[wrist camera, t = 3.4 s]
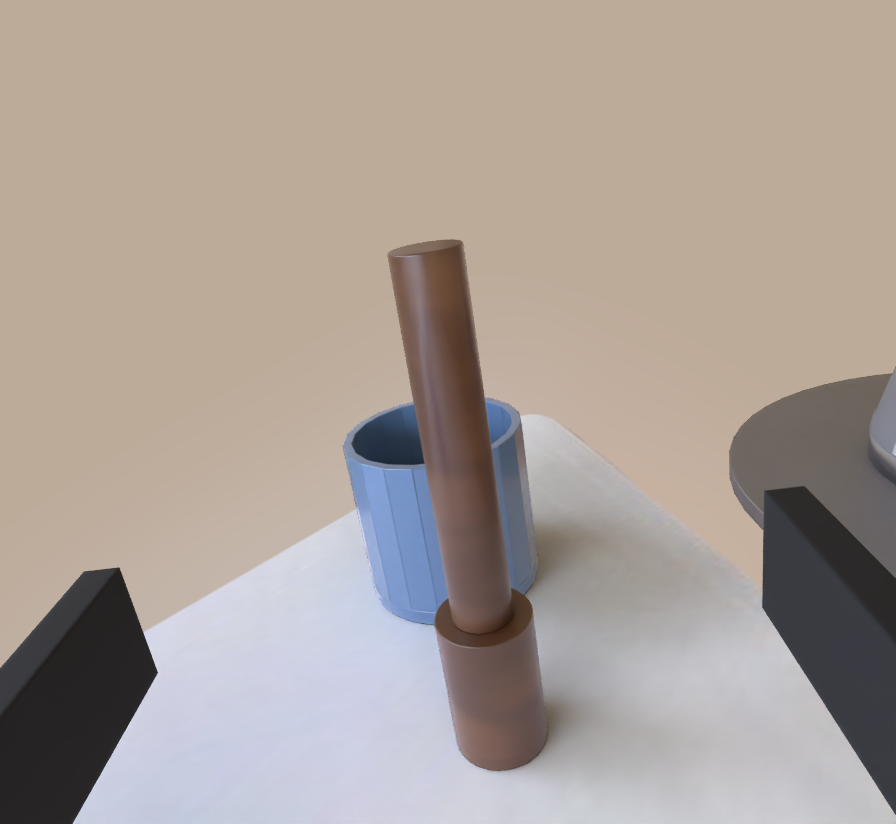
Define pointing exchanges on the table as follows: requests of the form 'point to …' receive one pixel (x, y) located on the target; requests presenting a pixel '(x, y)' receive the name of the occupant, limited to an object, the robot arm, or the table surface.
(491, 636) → the muddler
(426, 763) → the table surface
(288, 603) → the table surface
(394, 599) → the blue faceted pencil cup
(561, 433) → the table surface
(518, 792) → the table surface
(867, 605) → the robot arm
